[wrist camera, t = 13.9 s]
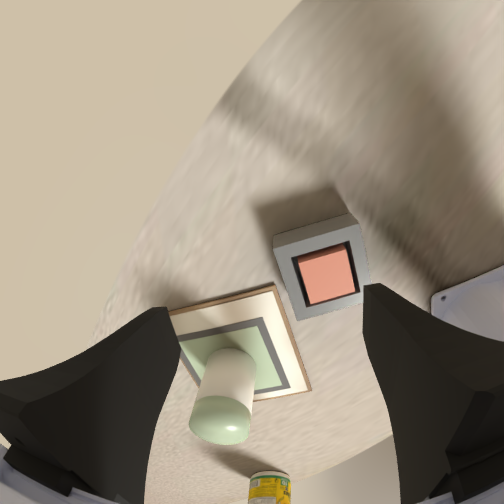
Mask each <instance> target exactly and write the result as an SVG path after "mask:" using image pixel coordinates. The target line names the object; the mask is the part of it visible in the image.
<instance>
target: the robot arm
mask: <svg viewBox="0 0 504 504" xmlns="http://www.w3.org/2000/svg"><path fill="white" fill-rule="evenodd" d="M443 296H444V297H443ZM442 297H443V298H442ZM441 298H442V299H441ZM363 336H364V341H365V345H366V349H367V353H368V356H369V359H370V362H371V364H372V367H373V370H374V372H375V375H376V377H377V380H378V383H379V385H380V388H381V391H382V394H383V396H384V399H385V402H386V405H387V409H388V412H389V417H390V421H391V426H392V431H393V437H394V443H395V449H396V455H397V463H398V472H399V481H400V497H401V504H504V265H503V266H501V267H499V268H496V269H494V270H492V271H490V272H487V273H485V274H483V275H480V276H478V277H476V278H473V279H471V280H468V281H466V282H464V283H461V284H459V285H456V286H453V287H451V288H448V289H446V290H443V291H441V292H438V293H436V294H434V295H433V296H432V298H431V314H430V313H428V312H426V311H424V310H422V309H421V308H419V307H417V306H416V305H414V304H412V303H411V302H409V301H408V300H406V299H405V298H403V297H401V296H400V295H398V294H397V293H395V292H394V291H392V290H391V289H389V288H388V287H386V286H384V285H383V284H381V283H376V284H370V285H363ZM180 354H181V346H180V344H179V341H178V338H177V335H176V333H175V330H174V327H173V324H172V321H171V319H170V316H169V313H168V310H167V307H153V308H151V309H149V310H147V311H145V312H143V313H142V314H140V315H139V316H137V317H136V318H134V319H133V320H131V321H130V322H128V323H127V324H126V325H124V326H123V327H121V328H120V329H118V330H117V331H115V332H114V333H113V334H111V335H109V336H108V337H106V338H105V339H103V340H102V341H100V342H99V343H97V344H96V345H94V346H92V347H91V348H89V349H87V350H86V351H84V352H82V353H80V354H79V355H76V356H74V357H72V358H70V359H68V360H66V361H64V362H62V363H59V364H57V365H55V366H52V367H50V368H47V369H45V370H42V371H39V372H36V373H33V374H29V375H26V376H22V377H18V378H13V379H8V380H3V381H0V433H1V434H2V435H3V436H4V437H5V438H6V440H7V441H8V442H9V443H10V444H11V447H10V448H9V449H7V448H6V447H4V446H3V445H2V444H0V504H144V493H145V481H146V473H147V466H148V460H149V454H150V449H151V444H152V440H153V435H154V431H155V427H156V423H157V420H158V417H159V414H160V412H161V409H162V407H163V404H164V402H165V399H166V397H167V394H168V392H169V389H170V387H171V384H172V381H173V379H174V376H175V374H176V371H177V367H178V363H179V358H180Z"/></svg>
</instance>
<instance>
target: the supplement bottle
mask: <svg viewBox="0 0 504 504" xmlns="http://www.w3.org/2000/svg"><path fill="white" fill-rule="evenodd" d="M290 495H291V479H290V477H289V476H288V475H286V474H284V473H281V472H277V471H263V472H258V473H256V474H254V475H253V476H252V477H251V479H250V488H249V498H248V504H290Z"/></svg>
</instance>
